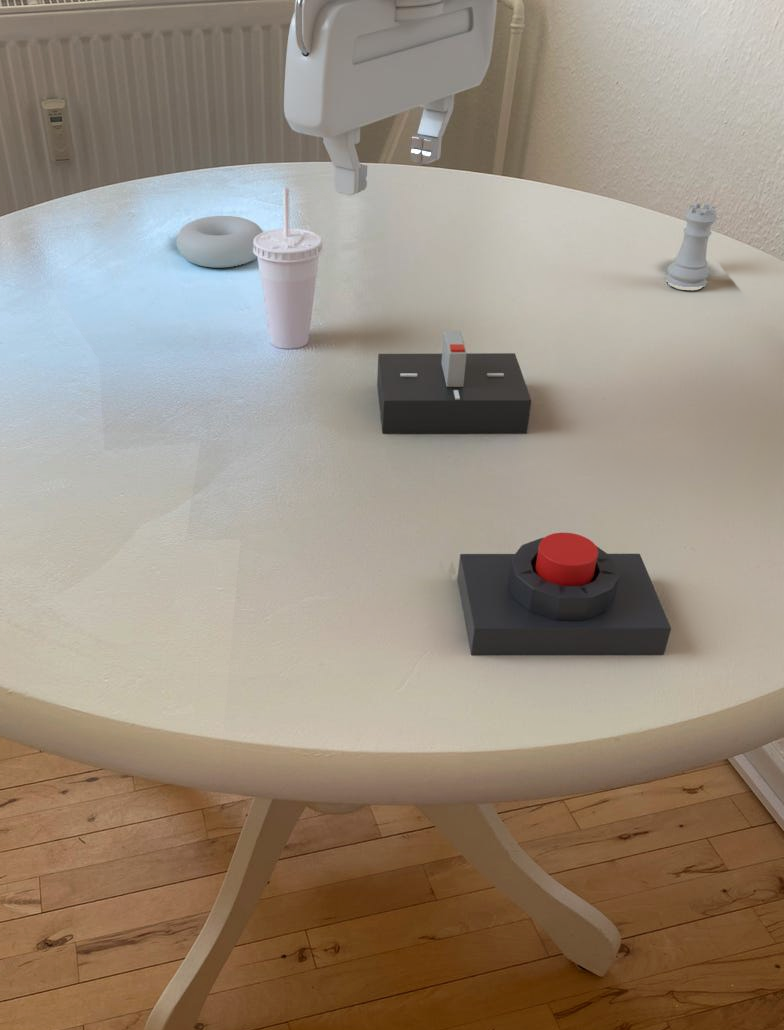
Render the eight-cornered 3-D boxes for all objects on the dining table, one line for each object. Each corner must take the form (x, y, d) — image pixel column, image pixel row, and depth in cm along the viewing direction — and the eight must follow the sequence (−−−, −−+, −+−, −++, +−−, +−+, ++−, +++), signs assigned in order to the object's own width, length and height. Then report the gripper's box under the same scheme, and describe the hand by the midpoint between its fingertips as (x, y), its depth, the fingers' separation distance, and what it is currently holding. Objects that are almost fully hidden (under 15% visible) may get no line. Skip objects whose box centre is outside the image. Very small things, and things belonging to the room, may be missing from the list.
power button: (587, 554, 68) (591, 532, 67) (599, 588, 65) (603, 565, 64) (531, 554, 68) (534, 532, 67) (540, 588, 65) (544, 565, 64)
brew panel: (511, 384, 95) (515, 351, 93) (527, 433, 88) (532, 398, 86) (376, 385, 95) (378, 351, 93) (382, 433, 88) (383, 398, 86)
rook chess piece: (655, 284, 113) (671, 206, 108) (678, 273, 115) (695, 197, 110) (692, 296, 110) (711, 217, 105) (715, 284, 113) (734, 207, 107)
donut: (165, 250, 122) (195, 277, 115) (163, 219, 120) (192, 245, 113) (246, 237, 125) (279, 263, 118) (245, 207, 123) (278, 232, 116)
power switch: (633, 579, 72) (645, 530, 69) (664, 655, 66) (678, 605, 63) (457, 580, 72) (462, 530, 69) (470, 656, 66) (477, 605, 63)
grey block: (441, 363, 91) (444, 327, 89) (457, 363, 91) (460, 327, 89) (446, 387, 88) (449, 350, 86) (463, 387, 88) (466, 350, 86)
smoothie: (315, 325, 105) (316, 176, 96) (328, 352, 100) (329, 198, 91) (252, 329, 104) (246, 181, 95) (261, 357, 99) (256, 203, 90)
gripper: (339, -23, 61) (336, 222, 70) (519, -60, 73) (497, 152, 82) (257, -32, 64) (264, 203, 73) (442, -66, 76) (429, 139, 85)
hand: (389, 176), depth 78 cm, fingers open, 8 cm apart
